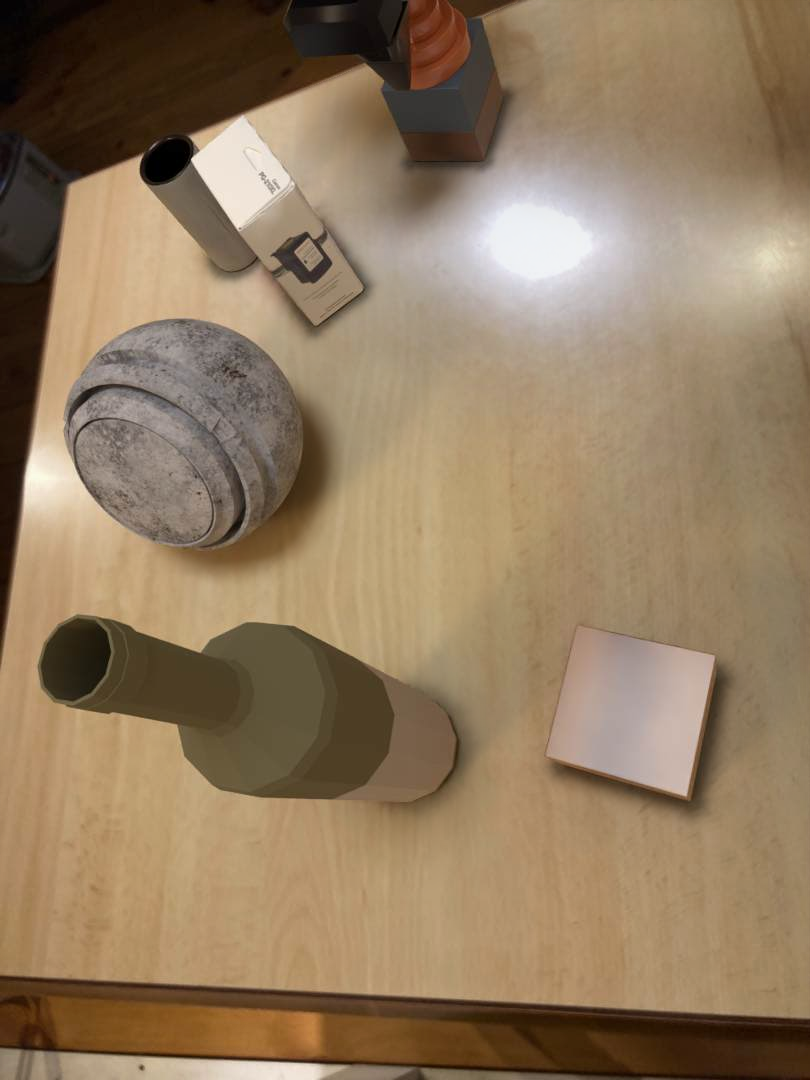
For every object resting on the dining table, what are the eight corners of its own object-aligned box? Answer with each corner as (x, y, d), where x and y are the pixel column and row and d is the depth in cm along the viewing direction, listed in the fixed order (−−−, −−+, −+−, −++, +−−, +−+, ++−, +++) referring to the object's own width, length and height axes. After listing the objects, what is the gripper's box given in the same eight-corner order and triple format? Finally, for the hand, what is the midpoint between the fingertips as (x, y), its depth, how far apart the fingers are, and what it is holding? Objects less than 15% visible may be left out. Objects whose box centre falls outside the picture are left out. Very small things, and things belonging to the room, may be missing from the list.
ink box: (267, 261, 67) (184, 155, 56) (317, 222, 66) (242, 109, 56) (314, 329, 63) (235, 230, 53) (367, 289, 63) (298, 181, 52)
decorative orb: (135, 558, 62) (-23, 484, 49) (189, 383, 66) (55, 269, 52) (311, 584, 57) (187, 508, 43) (359, 391, 60) (258, 266, 47)
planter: (209, 242, 70) (132, 153, 60) (255, 215, 69) (185, 121, 60) (222, 281, 68) (145, 196, 59) (270, 254, 67) (200, 163, 58)
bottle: (354, 697, 53) (-13, 565, 26) (461, 681, 51) (181, 520, 24) (362, 813, 50) (-35, 799, 24) (474, 801, 49) (180, 770, 22)
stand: (716, 674, 46) (716, 654, 41) (690, 801, 45) (687, 798, 39) (591, 645, 49) (576, 623, 44) (562, 764, 48) (543, 756, 42)
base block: (504, 96, 64) (495, 64, 61) (484, 161, 63) (474, 131, 60) (432, 98, 66) (421, 67, 64) (411, 161, 65) (399, 133, 62)
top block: (495, 64, 61) (482, 16, 58) (474, 131, 60) (459, 88, 57) (421, 67, 64) (403, 22, 60) (399, 133, 62) (380, 90, 59)
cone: (481, 17, 58) (461, -51, 53) (458, 88, 57) (436, 25, 52) (403, 23, 60) (378, -42, 56) (379, 91, 59) (351, 31, 54)
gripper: (255, -319, 48) (358, -61, 62) (142, -67, 44) (279, 148, 58) (433, -367, 44) (500, -78, 58) (326, -92, 40) (426, 147, 54)
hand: (422, 33), depth 57 cm, fingers open, 9 cm apart
